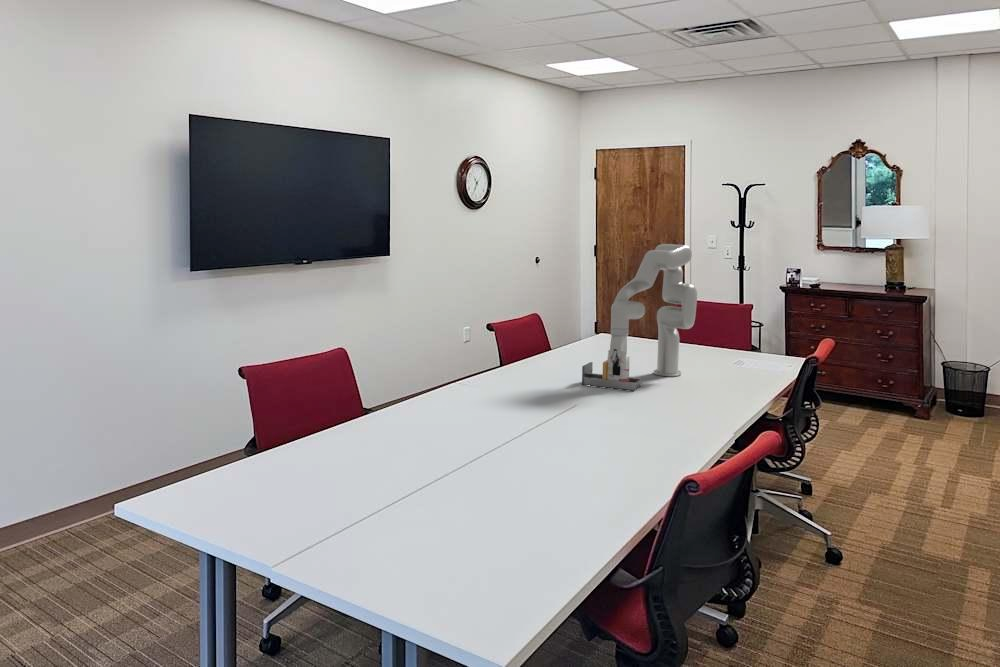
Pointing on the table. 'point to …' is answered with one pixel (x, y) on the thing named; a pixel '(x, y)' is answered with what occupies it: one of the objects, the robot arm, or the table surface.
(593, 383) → the lane
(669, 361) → the robot arm
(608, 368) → the ink cartridge box
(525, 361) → the table surface
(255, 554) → the table surface
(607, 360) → the block
